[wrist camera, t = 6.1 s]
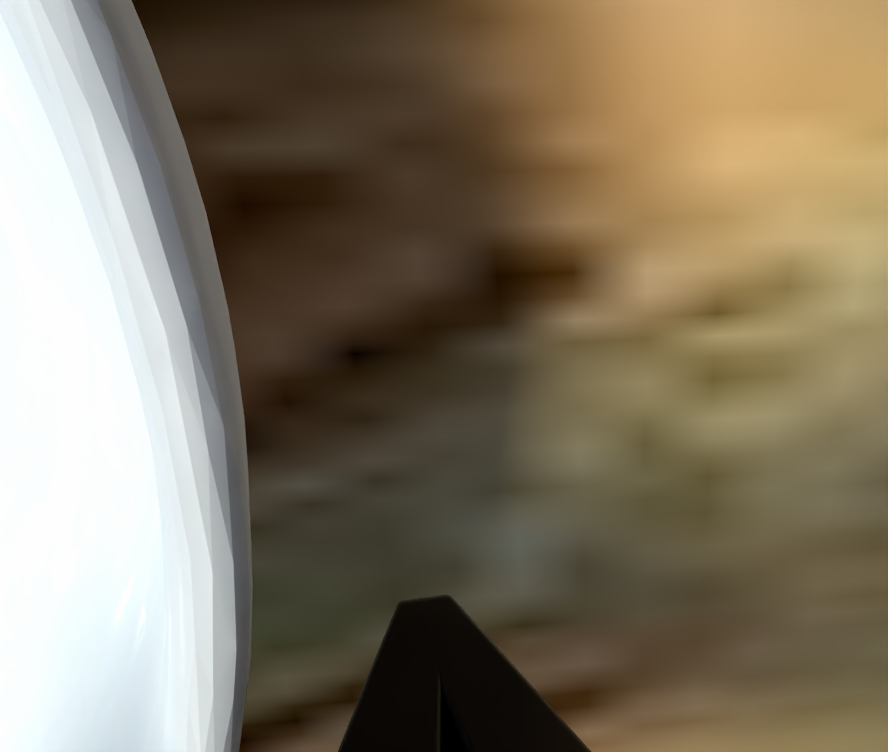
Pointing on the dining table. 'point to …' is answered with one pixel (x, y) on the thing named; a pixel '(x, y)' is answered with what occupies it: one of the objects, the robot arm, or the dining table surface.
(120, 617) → the serving bowl
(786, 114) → the dining table surface
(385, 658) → the robot arm
